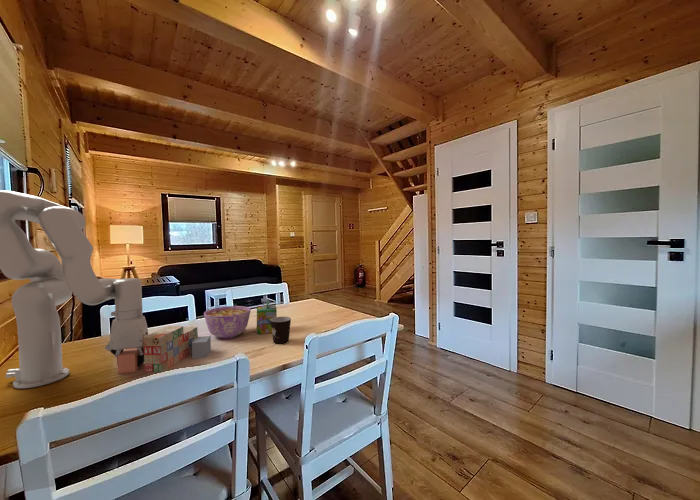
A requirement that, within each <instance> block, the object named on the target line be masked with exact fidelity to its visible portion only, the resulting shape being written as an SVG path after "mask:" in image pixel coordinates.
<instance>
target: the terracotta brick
mask: <svg viewBox="0 0 700 500" xmlns="http://www.w3.org/2000/svg"><path fill="white" fill-rule="evenodd" d="M138 355H139V353H138V350H137V348H132V349H124V351H123V352H122V353H120V354H119V355H118V356H117V357H116V359H117V358H118V365H117V374H126V373H135V372H137V370H139V369H140V367H142V366H143V365H144V363H143V364H142V365H141V366H140V367H138V360H137V356H138Z"/></svg>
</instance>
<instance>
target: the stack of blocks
mask: <svg viewBox="0 0 700 500" xmlns="http://www.w3.org/2000/svg"><path fill="white" fill-rule="evenodd" d="M196 337H199V334H198V326H183V325H182V326H181V325H179V326H178V325H176V326H175V325H174V326H173V325H167V326H165V327H163V328H160V329H158V330H156V331H154V332H152V333H148V335H147V336H145V337H143V339H144V364H143V365H144V366H143V367H144V373H163V372H165V371H166V370H168V369H170V368H171V367H173V366H174V365H177V364H178V363H180V362H181V361H182V360H184V359H185V358H186V357H188V356H189V355H192V342H193V341H194V340H195V339H196Z"/></svg>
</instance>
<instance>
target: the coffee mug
mask: <svg viewBox="0 0 700 500" xmlns="http://www.w3.org/2000/svg"><path fill="white" fill-rule="evenodd" d="M291 319H292V318H291V317H290V316H277V317H275V318H272V319H271V320H270V325H271V328H272V333H271V334H272V341H273V344H274V343H275V344H274V345H276V344H283V345H286V344H285V343H287V342H288V343H289V340H290V331H291V322H292V321H291ZM288 343H287V344H288Z"/></svg>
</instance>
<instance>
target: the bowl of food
mask: <svg viewBox="0 0 700 500" xmlns="http://www.w3.org/2000/svg"><path fill="white" fill-rule="evenodd" d="M251 310H252V309H251V307H249V306H245V305H244V306H243V305H231V306H221V307H214V308H211V309H209V310H208V309H207V310H205V311H204V312H203V315H204V320H205V322H206V326H207V329H208V332H209V333H210V334H211V335H212V336H214V337H218V338H219V339H232V338H235V337H238V335H240V334H241V333H243V332H245V330H246V328H247V327H248V324H249V319H250V316H251V315H250V314H251Z"/></svg>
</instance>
